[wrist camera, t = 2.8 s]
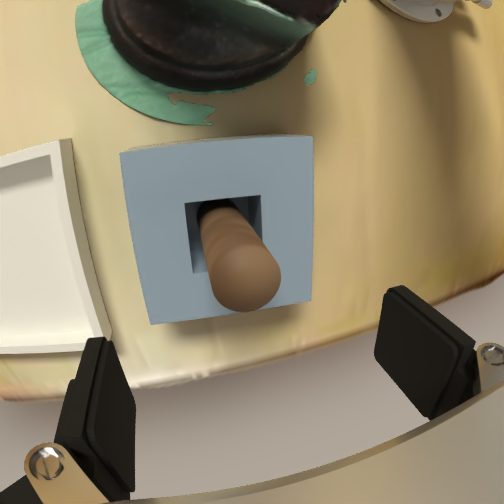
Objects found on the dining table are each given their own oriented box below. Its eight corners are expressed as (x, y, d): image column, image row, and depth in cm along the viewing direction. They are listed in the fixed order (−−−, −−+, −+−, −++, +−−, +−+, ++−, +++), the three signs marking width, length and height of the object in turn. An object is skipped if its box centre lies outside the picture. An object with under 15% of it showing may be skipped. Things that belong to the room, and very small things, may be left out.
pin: (237, 193, 22) (280, 244, 13) (240, 234, 24) (281, 305, 15) (194, 198, 22) (207, 253, 13) (198, 239, 23) (215, 316, 14)
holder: (286, 133, 22) (312, 136, 18) (288, 270, 27) (311, 300, 22) (132, 147, 20) (119, 153, 16) (154, 289, 25) (150, 324, 20)
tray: (71, 137, 19) (59, 139, 17) (112, 330, 25) (107, 348, 23) (-72, 183, 16) (-88, 190, 14) (-22, 339, 22) (-32, 353, 20)
